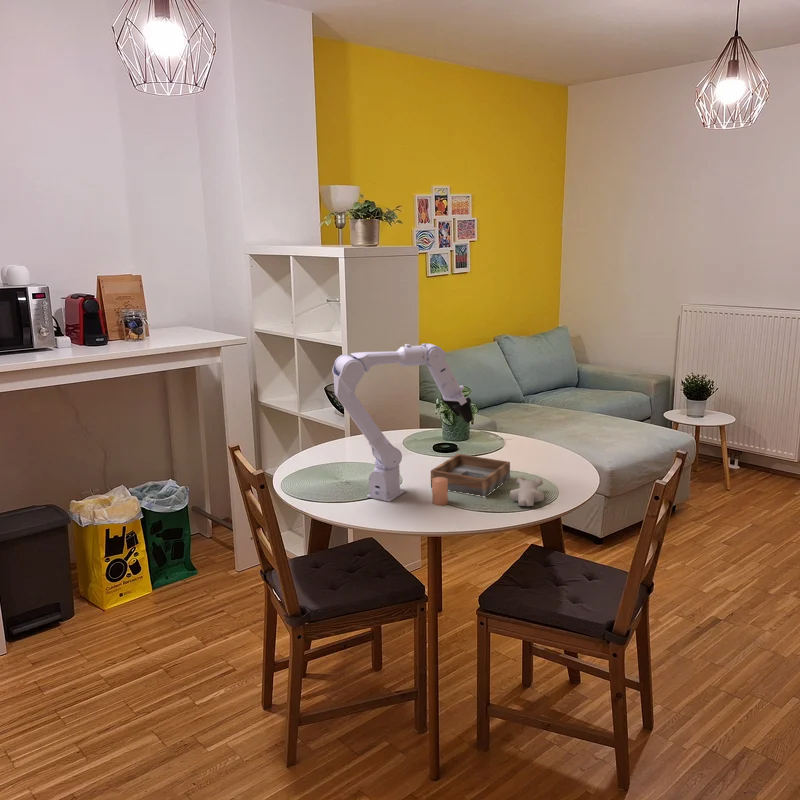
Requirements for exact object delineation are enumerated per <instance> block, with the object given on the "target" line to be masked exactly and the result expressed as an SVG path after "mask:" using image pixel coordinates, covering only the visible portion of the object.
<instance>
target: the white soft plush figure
mask: <svg viewBox="0 0 800 800" xmlns="http://www.w3.org/2000/svg"><path fill="white" fill-rule="evenodd" d="M515 483H516V484H517V485H518V486H519V487H517V488H515V489H511V490H510V491H509V498H510V499H511V500H515V501H517V502H518V507H519V506H520V507H530V506H533V505H534V503H537V502H542V501H543V502H544V501H545V500H544V499H545V496H544V495H545V492H542V491H540V490H538V489H537V488H539V487H541V486H542V485H543V484H544V482H543V480H542V478H535V479H534V480H526V479H525V478H523V477H517V479H516V481H515ZM534 506H535V505H534Z"/></svg>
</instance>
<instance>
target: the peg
mask: <svg viewBox="0 0 800 800" xmlns="http://www.w3.org/2000/svg"><path fill="white" fill-rule="evenodd" d="M431 493H432V504H433V505H434V506H439V507H440V506H441V507H442V506H445V505H447V504H448V503H449V491H448V479H447V478H445V477H435V478H433V479H432V488H431Z"/></svg>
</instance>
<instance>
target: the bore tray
mask: <svg viewBox="0 0 800 800" xmlns="http://www.w3.org/2000/svg"><path fill="white" fill-rule="evenodd" d="M435 477H445V478H447V479H448V490H450V491H456V492H462V493H469V494H474V495H480V496H485V497H486V496H487V495H488V494H489V493H490V492H492V491H493V490H494V489H496V488H497V487H498V486H500V485H501V484H502V483H504V482H505V481H506V480H508V479H509V478H510V479H511V461H508V460H507V461H506V460H501V459H493V458H487V457H480V456H475V455H469V454H463V453H457V454H455V455H453V456H451V457H450V458H449V459H446V460H445V461H444V462H442V463H441V464H439V465H437V466H436V467H434V468H432V469H431V470H430V489H432V479H433V478H435ZM510 479H509V480H510ZM509 480H508V481H509ZM505 483H506V482H505ZM505 483H504V484H505ZM501 486H502V485H501ZM501 486H500V487H501ZM496 490H497V489H496ZM450 491H449V492H450ZM487 497H488V496H487ZM487 497H486V498H487Z"/></svg>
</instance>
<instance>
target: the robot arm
mask: <svg viewBox="0 0 800 800" xmlns="http://www.w3.org/2000/svg"><path fill="white" fill-rule="evenodd" d="M395 363H396V364H398V365H400V366H401V367H415V366H425V365H426V367H427V369H428V371H429V373H430V375H431V377H432V378H433V381H434V382H435V384H436V386H437V388H438V390H439V392H440V393H441V396H442V397H441V399H440V401H441V402H443V403H444V404H445V405H446V406H447V407H448V408H449V409H450V410H451V412H452V413H453V414H454V415H455V417H459V416H461V417H462V419H463V420H464V422H465V423H467V424H468V423H470V422H471V421H474V417H473V413H472V408H471V403H472V400H471V398H470V397H466V398H465V396H464V393H463V390H464V389H465V386H464V385H459V383H458V381H457V379H456V377H455V375H454V373H453V371H452V369H451V367H450V366H449V364H448V362H447V360H446V351H445V350H443V349H442V347H440V346H438V345H435V344H433V343H428V342H426V343H421V345H411V344H409V343H405V344H404V346H400V347H399V348H398V349H397V350H396V351H395V350H394V351H360V352H359V351H358V352H352V353H350V354H345V353H344V354H341V355H339V356H338V357H337V358H336V359H335V360H334V364H333V366H332V371H331V372H332V375H333V389H334V390H333V391H334V395H335V398H337V400H338V401H339V403H340V404H341V405H342V407H343V408H344V410H345V411H346V412H347V414H348V415H349V417H350V418H351V419H352V421H353V422H354V423H355V425H356V426H357V428H358V429H359V430H360V432H361V433H362V435H363V436H364V437H365V438H366V440H367V442H368V445H369V446H370V448H371V453H372V455H373V457H374V458H375V461H374V469H373V470H372V472H370V474H369V477H368V484H369V485H368V486H369V491H368V492H369V493H368V494H367V496H366V497H367V498H371V499H375V500H380V501H385V502H391V501H393V500H394V499H396V498H398V497H399V496H401V495H402V494H404V493H405V492H407V490H406V489H405V488H401V477H400V471H401V470H400V463H401V462H402V460H403V455H402V452H401V450H400V449H399V448H397V447H395V446H394V445H393V444H392V443H391V442H390V441H389V439H388V438H387V437H386V436H385V434H384V433H383V432H382V431H381V429H380V428H379V427H378V426H379V425H377V424H376V422H375V421H374V419H373V418H372V417H371V415H370V413H369V412H368V411H367V409H366V408H365V407H364V405H363V404H362V402H361V401H360V399H359V398H358V397H357V395H356V388H357V385H358V384H359V383H360V382H361V380H362V379H363V377H364V375H365V372H367V373H368V372H369V371H370V370H371V368H372V367H373V366H377V365H378V366H379V365H388V364H395Z"/></svg>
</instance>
